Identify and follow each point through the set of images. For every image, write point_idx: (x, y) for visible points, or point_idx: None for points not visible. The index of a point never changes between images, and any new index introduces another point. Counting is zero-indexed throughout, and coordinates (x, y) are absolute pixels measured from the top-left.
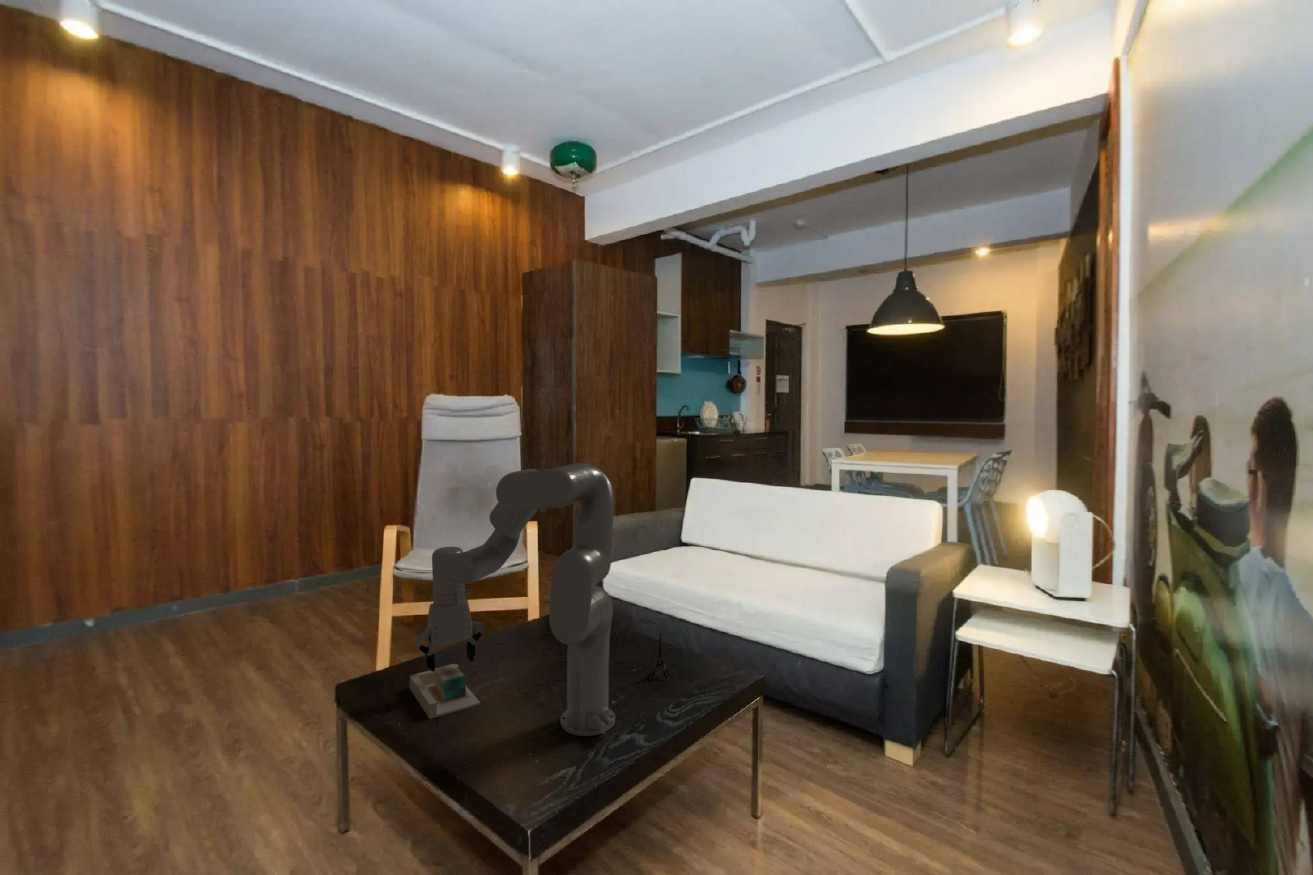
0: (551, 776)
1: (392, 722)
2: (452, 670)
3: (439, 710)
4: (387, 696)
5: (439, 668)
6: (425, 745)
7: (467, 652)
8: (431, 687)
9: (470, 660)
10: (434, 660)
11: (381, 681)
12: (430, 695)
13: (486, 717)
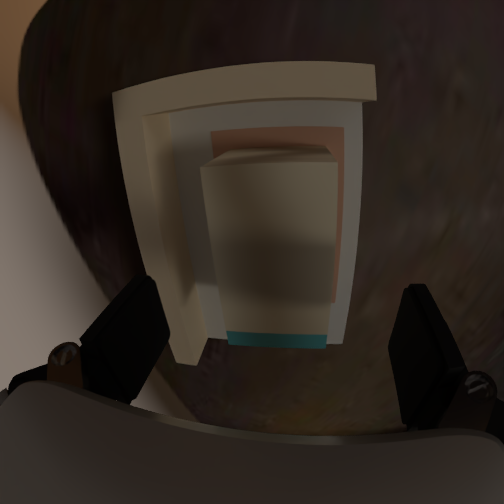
0: None
1: (107, 291)
2: (295, 259)
3: (218, 322)
4: (82, 127)
5: (230, 185)
6: (180, 393)
7: (413, 325)
8: (219, 141)
9: (389, 345)
10: (145, 380)
11: (83, 11)
12: (180, 322)
13: (321, 387)
